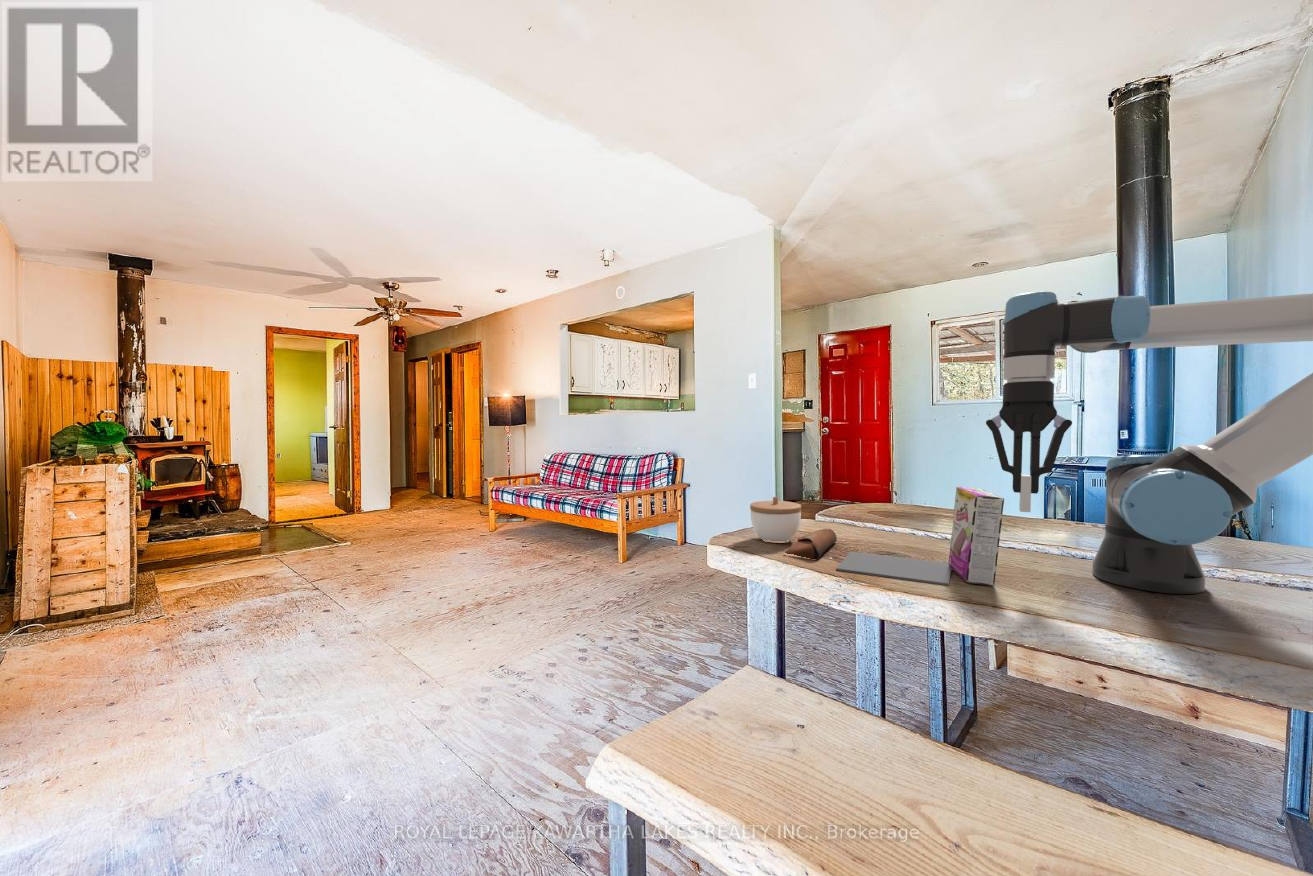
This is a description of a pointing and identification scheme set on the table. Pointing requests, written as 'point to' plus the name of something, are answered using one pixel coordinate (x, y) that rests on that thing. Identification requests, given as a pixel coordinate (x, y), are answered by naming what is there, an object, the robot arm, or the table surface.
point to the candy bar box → (976, 535)
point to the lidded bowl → (775, 519)
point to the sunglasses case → (813, 544)
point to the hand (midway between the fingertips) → (1024, 510)
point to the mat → (897, 567)
